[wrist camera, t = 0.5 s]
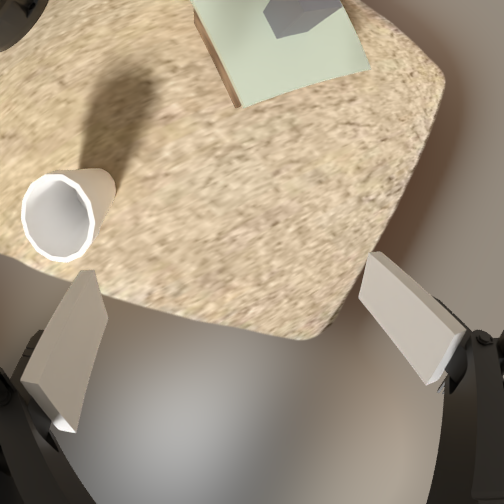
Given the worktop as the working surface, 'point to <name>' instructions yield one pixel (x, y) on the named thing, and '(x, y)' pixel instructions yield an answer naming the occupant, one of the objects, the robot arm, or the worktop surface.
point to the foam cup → (66, 211)
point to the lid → (281, 44)
